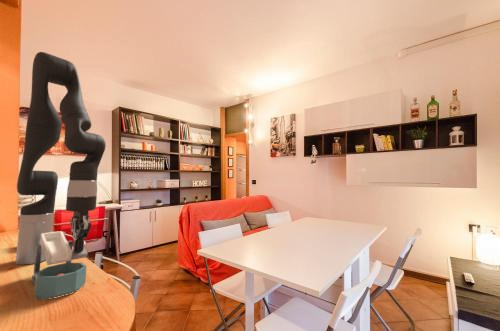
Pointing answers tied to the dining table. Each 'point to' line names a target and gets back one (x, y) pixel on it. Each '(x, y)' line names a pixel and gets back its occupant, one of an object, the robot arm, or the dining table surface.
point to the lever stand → (38, 259)
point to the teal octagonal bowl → (59, 280)
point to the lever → (58, 248)
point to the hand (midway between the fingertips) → (78, 251)
